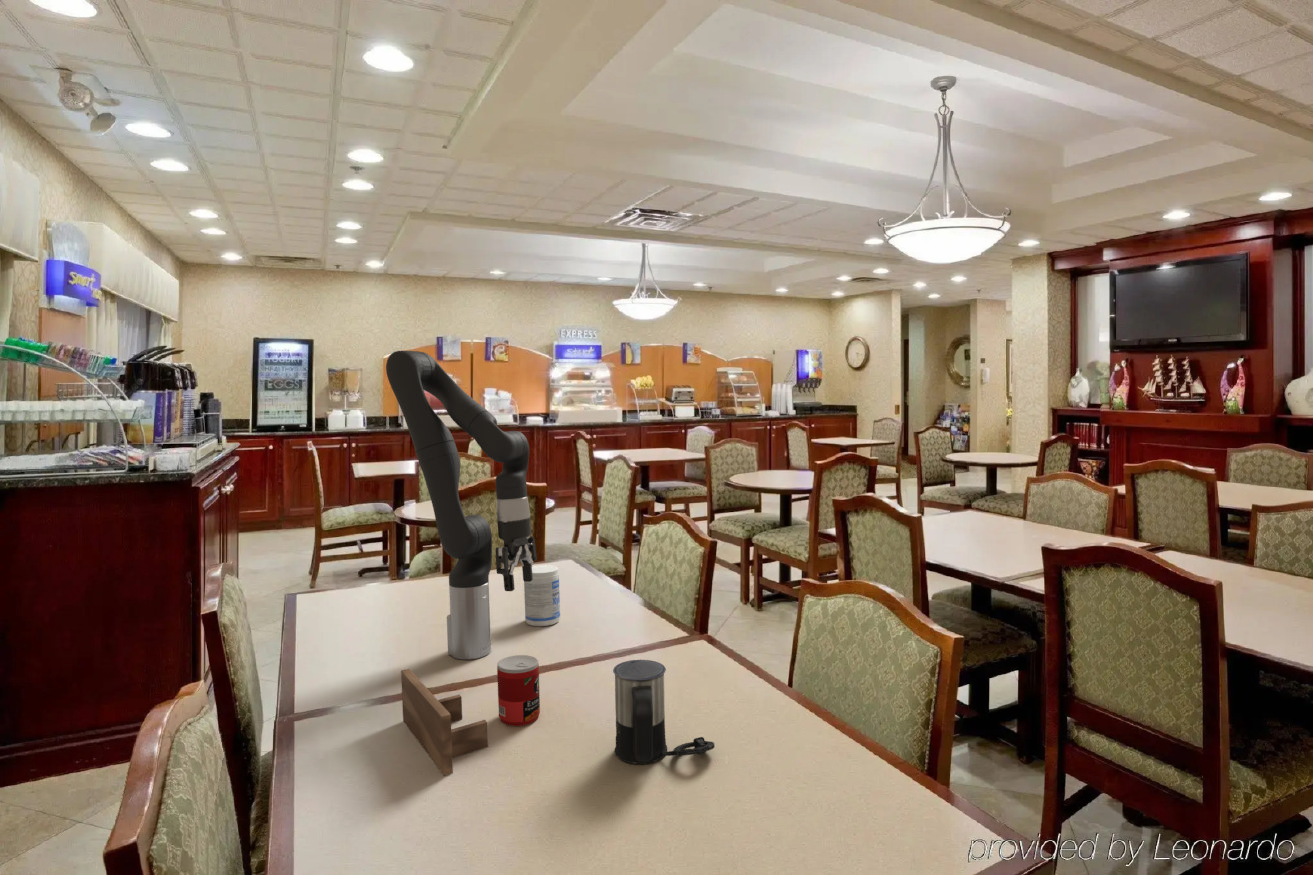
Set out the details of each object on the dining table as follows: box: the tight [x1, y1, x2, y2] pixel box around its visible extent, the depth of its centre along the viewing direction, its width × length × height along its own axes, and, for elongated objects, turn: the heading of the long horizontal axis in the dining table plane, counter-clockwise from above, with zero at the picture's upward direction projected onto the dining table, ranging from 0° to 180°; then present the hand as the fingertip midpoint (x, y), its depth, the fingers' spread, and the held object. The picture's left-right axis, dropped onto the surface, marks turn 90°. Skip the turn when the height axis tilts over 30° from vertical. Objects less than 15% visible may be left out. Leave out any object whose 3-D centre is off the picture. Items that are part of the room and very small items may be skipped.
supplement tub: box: [523, 564, 561, 627], centre depth 194 cm, size 10×10×15 cm
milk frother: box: [612, 659, 716, 765], centre depth 122 cm, size 14×16×15 cm
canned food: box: [496, 654, 541, 727], centre depth 137 cm, size 8×8×11 cm
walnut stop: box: [400, 668, 489, 776], centre depth 129 cm, size 10×24×10 cm, turn 35°
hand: (519, 586), depth 166 cm, fingers open, 8 cm apart
